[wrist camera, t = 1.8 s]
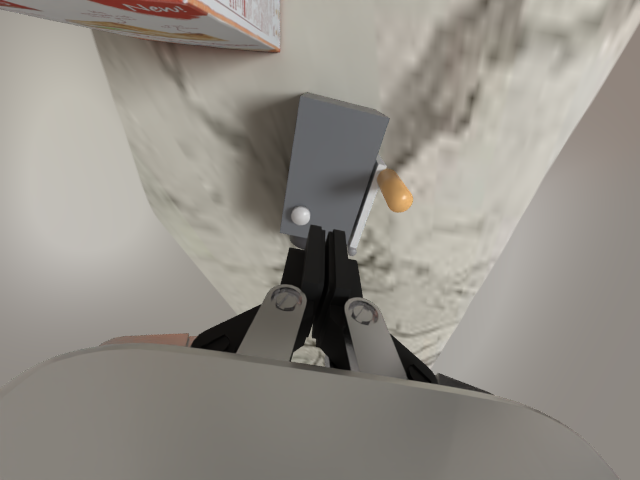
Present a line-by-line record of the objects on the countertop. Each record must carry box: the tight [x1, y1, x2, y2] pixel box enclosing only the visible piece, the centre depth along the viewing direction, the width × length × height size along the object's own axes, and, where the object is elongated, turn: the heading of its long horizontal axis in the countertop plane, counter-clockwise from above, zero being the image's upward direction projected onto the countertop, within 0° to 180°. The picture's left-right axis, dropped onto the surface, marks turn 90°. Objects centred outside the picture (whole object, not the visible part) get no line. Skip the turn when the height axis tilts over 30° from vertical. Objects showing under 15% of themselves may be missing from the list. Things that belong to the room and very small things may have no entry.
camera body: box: [280, 92, 390, 250], centre depth 29 cm, size 17×8×9 cm, turn 168°
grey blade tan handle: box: [347, 154, 413, 256], centre depth 28 cm, size 11×2×13 cm, turn 168°
